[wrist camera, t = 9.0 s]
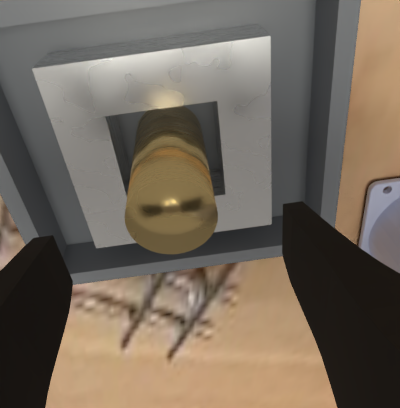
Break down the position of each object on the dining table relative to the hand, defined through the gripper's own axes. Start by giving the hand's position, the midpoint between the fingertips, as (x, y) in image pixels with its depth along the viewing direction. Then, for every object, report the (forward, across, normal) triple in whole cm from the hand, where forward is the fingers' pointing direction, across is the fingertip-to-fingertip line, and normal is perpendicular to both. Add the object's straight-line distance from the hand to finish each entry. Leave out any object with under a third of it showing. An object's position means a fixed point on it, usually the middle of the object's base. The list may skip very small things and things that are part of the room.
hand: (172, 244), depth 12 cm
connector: (+8, 0, 0) cm, 8 cm away
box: (+9, 0, 0) cm, 9 cm away
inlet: (+9, 0, 0) cm, 9 cm away
